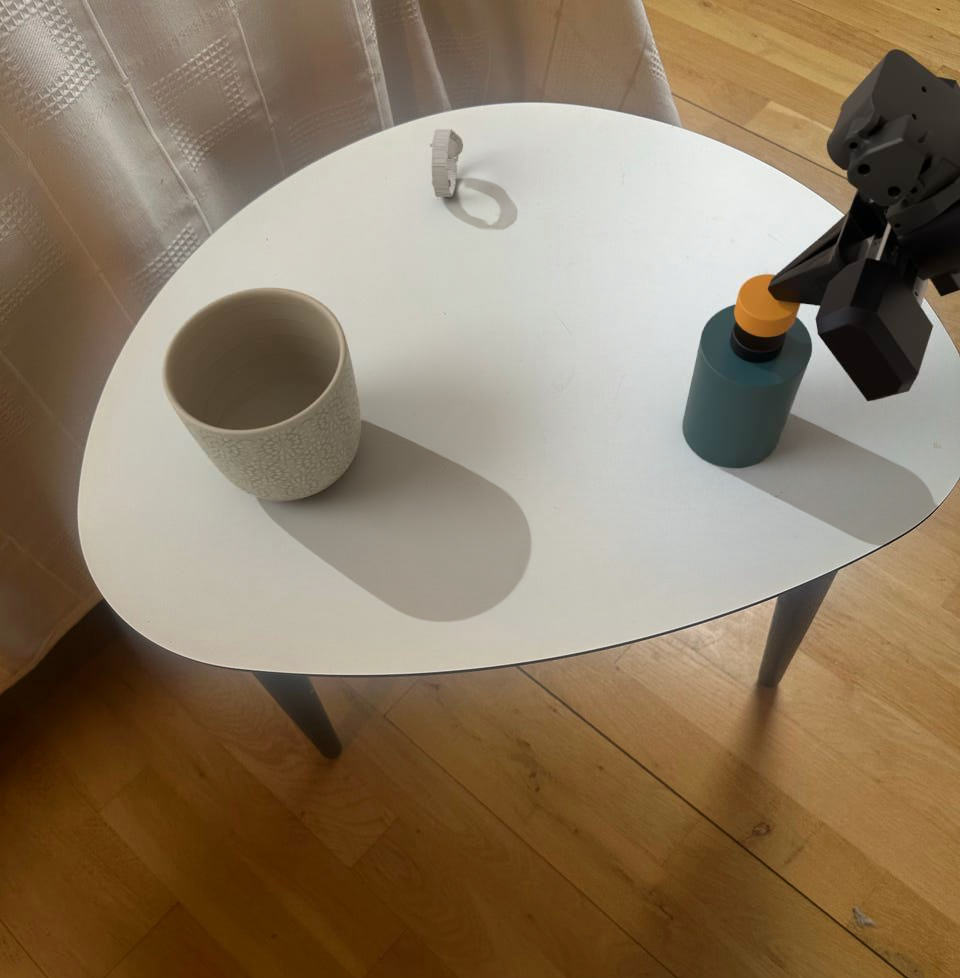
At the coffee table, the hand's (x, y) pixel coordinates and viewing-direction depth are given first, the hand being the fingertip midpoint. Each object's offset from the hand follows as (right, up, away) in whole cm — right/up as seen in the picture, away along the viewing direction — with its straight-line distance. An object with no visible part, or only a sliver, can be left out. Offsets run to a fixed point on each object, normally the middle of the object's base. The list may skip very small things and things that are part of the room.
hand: (772, 290), depth 55 cm
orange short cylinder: (0, -1, +2) cm, 2 cm away
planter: (-32, -7, +14) cm, 36 cm away
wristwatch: (-21, +19, +25) cm, 38 cm away
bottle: (+1, -6, +12) cm, 14 cm away
